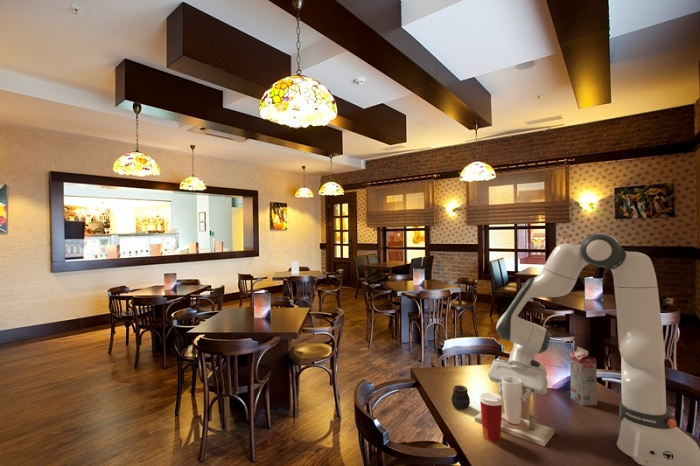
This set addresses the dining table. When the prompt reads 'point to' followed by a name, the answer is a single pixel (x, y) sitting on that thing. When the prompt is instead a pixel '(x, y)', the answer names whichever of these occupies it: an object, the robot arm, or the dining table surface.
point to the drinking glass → (512, 400)
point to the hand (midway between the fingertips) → (512, 397)
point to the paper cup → (491, 416)
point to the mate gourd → (460, 397)
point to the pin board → (525, 429)
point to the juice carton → (583, 377)
